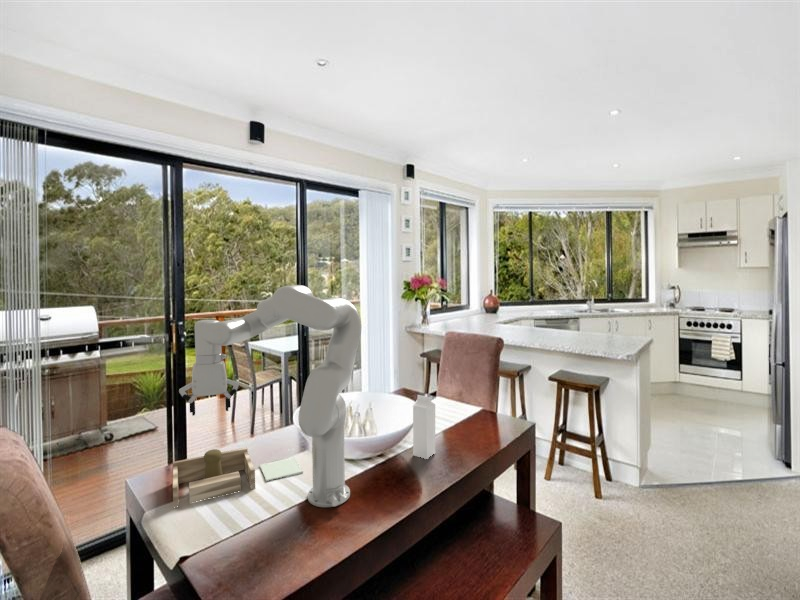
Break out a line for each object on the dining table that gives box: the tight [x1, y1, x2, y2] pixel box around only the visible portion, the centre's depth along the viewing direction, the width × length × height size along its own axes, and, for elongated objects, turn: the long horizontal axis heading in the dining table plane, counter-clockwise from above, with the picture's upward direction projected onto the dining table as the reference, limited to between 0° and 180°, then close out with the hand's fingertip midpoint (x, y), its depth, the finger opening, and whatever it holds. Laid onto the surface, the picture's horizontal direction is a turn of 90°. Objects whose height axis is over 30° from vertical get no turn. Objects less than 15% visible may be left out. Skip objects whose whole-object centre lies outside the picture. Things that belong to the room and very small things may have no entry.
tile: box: [259, 456, 304, 482], centre depth 140 cm, size 12×12×1 cm
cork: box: [203, 448, 224, 479], centre depth 131 cm, size 6×6×11 cm
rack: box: [172, 446, 256, 508], centre depth 130 cm, size 16×22×7 cm
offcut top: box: [188, 470, 241, 498], centre depth 125 cm, size 4×14×2 cm, turn 119°
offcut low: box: [189, 485, 242, 504], centre depth 125 cm, size 4×14×2 cm, turn 118°
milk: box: [412, 394, 436, 460], centre depth 151 cm, size 6×6×22 cm
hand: (210, 412), depth 131 cm, fingers open, 9 cm apart
